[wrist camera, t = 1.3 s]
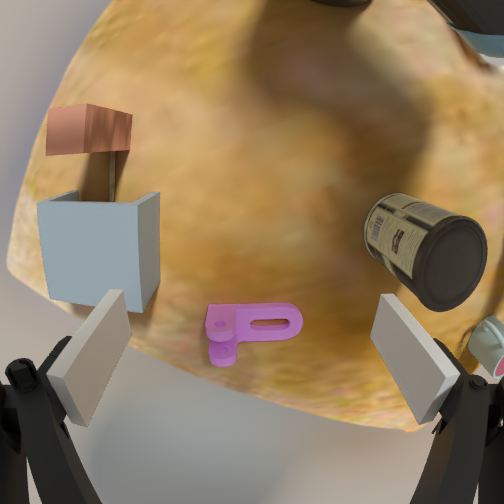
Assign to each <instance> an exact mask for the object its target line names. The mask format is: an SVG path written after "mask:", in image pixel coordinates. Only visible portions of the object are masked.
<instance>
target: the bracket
mask: <svg viewBox="0 0 504 504" xmlns="http://www.w3.org/2000/svg"><path fill="white" fill-rule="evenodd" d="M260 319H288V320H289V321H288V322H287V323H286V324H284V325H265V326H254V325H252V324H251V322H252V321H253V320H260ZM302 326H303V318H302V315H301V312H300V310H299V309H298V308H297V307H296V306H295V305H293V304H291V303H285V302H283V303H253V304H209V306H208V312H207V317H206V322H205V328H206V336H207V337H208V338H209V339H210V341H209V348H208V354H209V361H210V363H211V364H213V365H214V366H217V367H228V366H231V365H233V364H234V363H235V362H236V360H237V343H238V342H245V341H274V340H287V339H290V338H292V337H294V336H296V335H297V334H298V333H299V332H300V330H301V329H302Z"/></svg>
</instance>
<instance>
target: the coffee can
mask: <svg viewBox="0 0 504 504" xmlns="http://www.w3.org/2000/svg"><path fill="white" fill-rule="evenodd" d="M364 241H365V245H366V247H367V250H368V251H369V253H370V254H371V255H372V256H373V257H374V258H375V259H376V260H377V261H379V262H380V263H381V264H382V265H383V266H385V267H386V268H387V269H388V270H389V271H390V272H391V273H392V274H393V275H394V276H396V277H397V278H398V279H399V280H400V281H401V282H402V283H403V284H404V285H405V286H406V287H407V288H408V289H409V290H410V291H411V292H413V293H414V294H415V295H416V296H417V297H418V299H419V300H420V302H421V303H422V304H423V305H424V306H425V307H426V308H428V309H430V310H432V311H436V312H444V311H448V310H451V309H453V308H455V307H457V306H459V305H460V304H462V303H463V302H464V301H465V300H466V299H467V298H468V297H469V296H470V295H471V294H472V292H473V291H474V290H475V288H476V287H477V285H478V283H479V282H480V279H481V277H482V275H483V273H484V270H485V266H486V261H487V250H488V248H487V240H486V236H485V233H484V231H483V229H482V227H481V226H480V225H479V224H478V223H477V222H476V221H475V220H473V219H471V218H469V217H466V216H461V215H458V214H456V213H453V212H451V211H448V210H445V209H443V208H440V207H437V206H435V205H432V204H429V203H427V202H424V201H421V200H418V199H416V198H413V197H410V196H408V195H406V194H401V193H395V194H389V195H387V196H385V197H383V198H381V199H380V200H379V201H378V202H376V203H375V205H374V206H373V207H372V208H371V210H370V211H369V213H368V216H367V218H366V221H365V225H364Z"/></svg>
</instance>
